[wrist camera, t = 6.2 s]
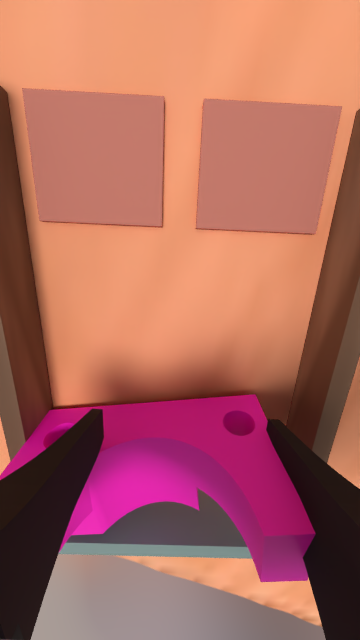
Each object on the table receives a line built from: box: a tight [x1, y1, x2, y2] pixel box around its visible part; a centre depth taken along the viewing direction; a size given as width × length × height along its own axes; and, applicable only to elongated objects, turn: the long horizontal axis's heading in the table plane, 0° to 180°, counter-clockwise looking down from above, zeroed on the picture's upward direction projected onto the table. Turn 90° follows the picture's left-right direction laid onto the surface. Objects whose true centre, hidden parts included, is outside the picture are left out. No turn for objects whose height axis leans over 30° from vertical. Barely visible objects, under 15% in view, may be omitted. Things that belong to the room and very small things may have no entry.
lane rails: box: [0, 86, 360, 463], centre depth 13 cm, size 20×26×3 cm
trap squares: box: [22, 88, 342, 234], centre depth 12 cm, size 16×6×1 cm, turn 88°
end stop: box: [58, 489, 252, 559], centre depth 17 cm, size 20×1×4 cm, turn 87°
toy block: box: [0, 394, 316, 582], centre depth 13 cm, size 15×6×8 cm, turn 96°
